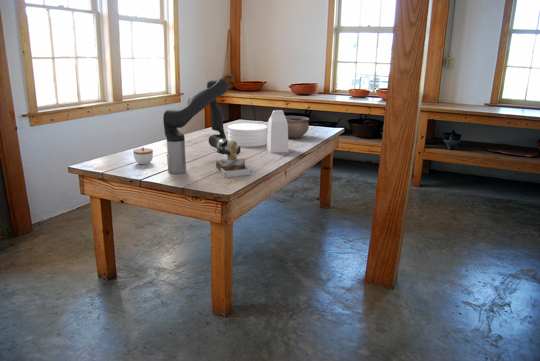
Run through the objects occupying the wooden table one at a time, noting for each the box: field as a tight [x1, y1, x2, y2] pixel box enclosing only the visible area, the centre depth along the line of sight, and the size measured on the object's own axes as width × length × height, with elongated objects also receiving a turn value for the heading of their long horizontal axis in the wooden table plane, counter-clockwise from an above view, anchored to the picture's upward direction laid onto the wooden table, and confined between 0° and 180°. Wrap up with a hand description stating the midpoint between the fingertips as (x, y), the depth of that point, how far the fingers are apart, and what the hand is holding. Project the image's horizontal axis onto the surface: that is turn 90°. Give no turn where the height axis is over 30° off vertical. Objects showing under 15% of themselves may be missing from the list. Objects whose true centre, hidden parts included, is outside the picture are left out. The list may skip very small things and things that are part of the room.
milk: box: [266, 109, 289, 154], centre depth 278 cm, size 12×12×26 cm
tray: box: [220, 165, 252, 178], centre depth 227 cm, size 14×8×3 cm, turn 111°
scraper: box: [222, 141, 246, 166], centre depth 229 cm, size 12×6×12 cm, turn 111°
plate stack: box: [227, 122, 268, 148], centre depth 304 cm, size 28×28×12 cm
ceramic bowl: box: [285, 115, 310, 139], centre depth 322 cm, size 22×22×15 cm
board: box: [215, 159, 246, 173], centre depth 236 cm, size 13×12×4 cm
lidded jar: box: [132, 146, 154, 165], centre depth 246 cm, size 11×11×9 cm
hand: (233, 153), depth 227 cm, fingers closed on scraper, 4 cm apart
